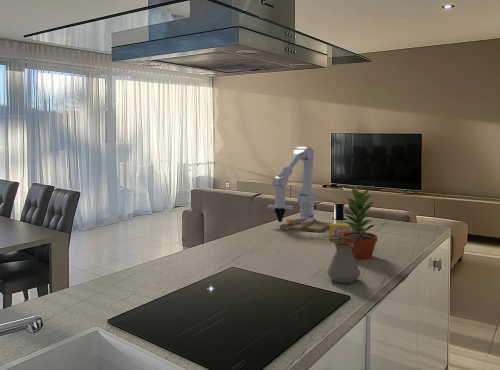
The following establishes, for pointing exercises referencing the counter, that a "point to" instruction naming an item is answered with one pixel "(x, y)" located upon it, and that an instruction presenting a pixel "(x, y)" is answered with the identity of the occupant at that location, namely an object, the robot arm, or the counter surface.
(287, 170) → the robot arm
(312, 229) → the walnut board
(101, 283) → the counter surface
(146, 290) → the counter surface
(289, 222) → the tongs swing arm
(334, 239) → the candy box
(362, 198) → the potted plant
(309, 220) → the tongs fixed arm
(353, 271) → the coffee pot
